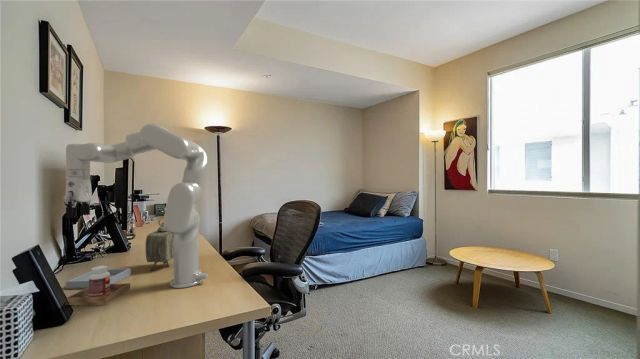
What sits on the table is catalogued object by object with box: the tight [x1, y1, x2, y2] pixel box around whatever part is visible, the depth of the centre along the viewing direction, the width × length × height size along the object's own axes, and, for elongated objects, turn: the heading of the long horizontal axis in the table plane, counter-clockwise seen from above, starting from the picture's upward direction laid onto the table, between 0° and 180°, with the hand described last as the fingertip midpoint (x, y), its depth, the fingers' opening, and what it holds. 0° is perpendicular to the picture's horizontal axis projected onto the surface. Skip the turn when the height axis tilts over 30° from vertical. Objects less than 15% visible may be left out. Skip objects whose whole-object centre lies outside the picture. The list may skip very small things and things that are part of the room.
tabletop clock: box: [144, 216, 174, 271], centre depth 140 cm, size 14×9×25 cm, turn 178°
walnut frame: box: [66, 282, 131, 307], centre depth 103 cm, size 14×14×2 cm
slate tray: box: [65, 268, 132, 290], centre depth 120 cm, size 16×16×3 cm
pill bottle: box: [88, 265, 111, 297], centre depth 103 cm, size 6×6×11 cm
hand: (78, 216), depth 114 cm, fingers open, 9 cm apart
